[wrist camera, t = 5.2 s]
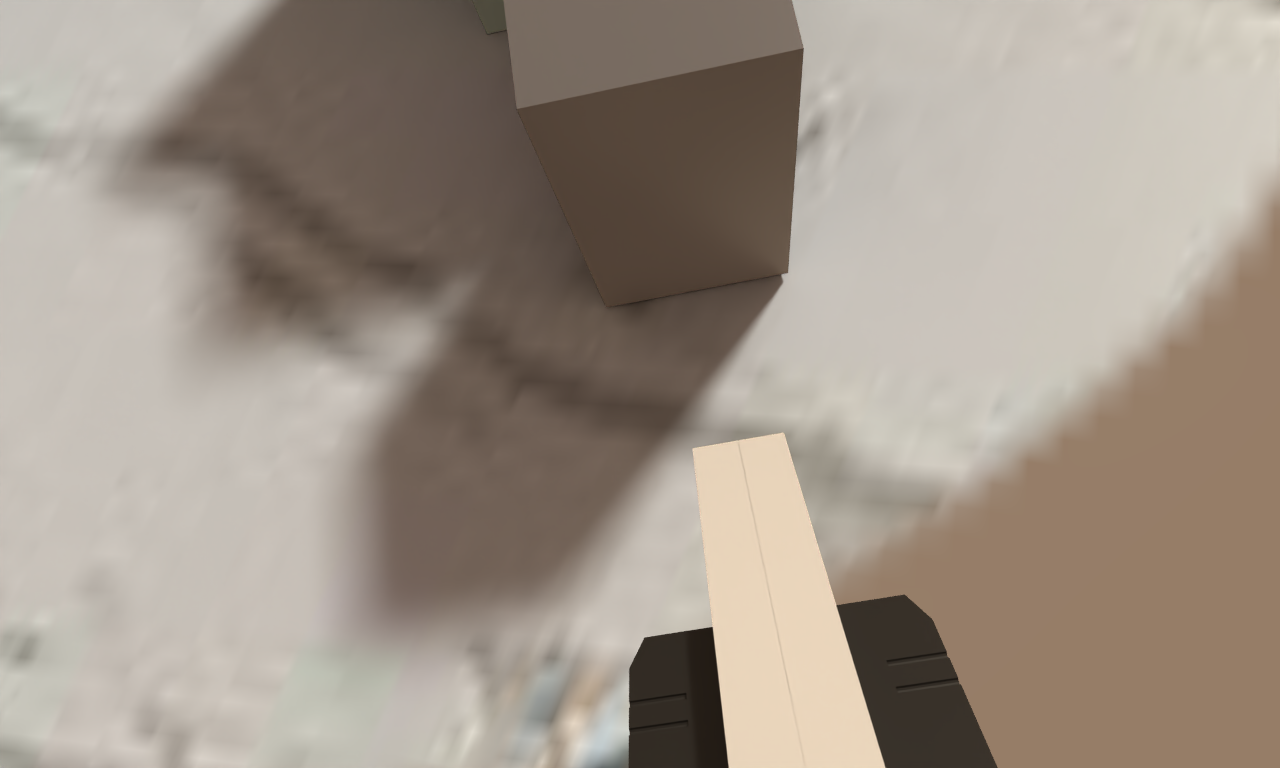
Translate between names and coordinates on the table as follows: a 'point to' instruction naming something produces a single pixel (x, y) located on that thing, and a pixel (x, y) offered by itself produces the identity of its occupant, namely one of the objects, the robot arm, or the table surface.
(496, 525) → the table surface
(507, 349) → the table surface
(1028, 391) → the table surface
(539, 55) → the plug
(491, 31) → the socket
